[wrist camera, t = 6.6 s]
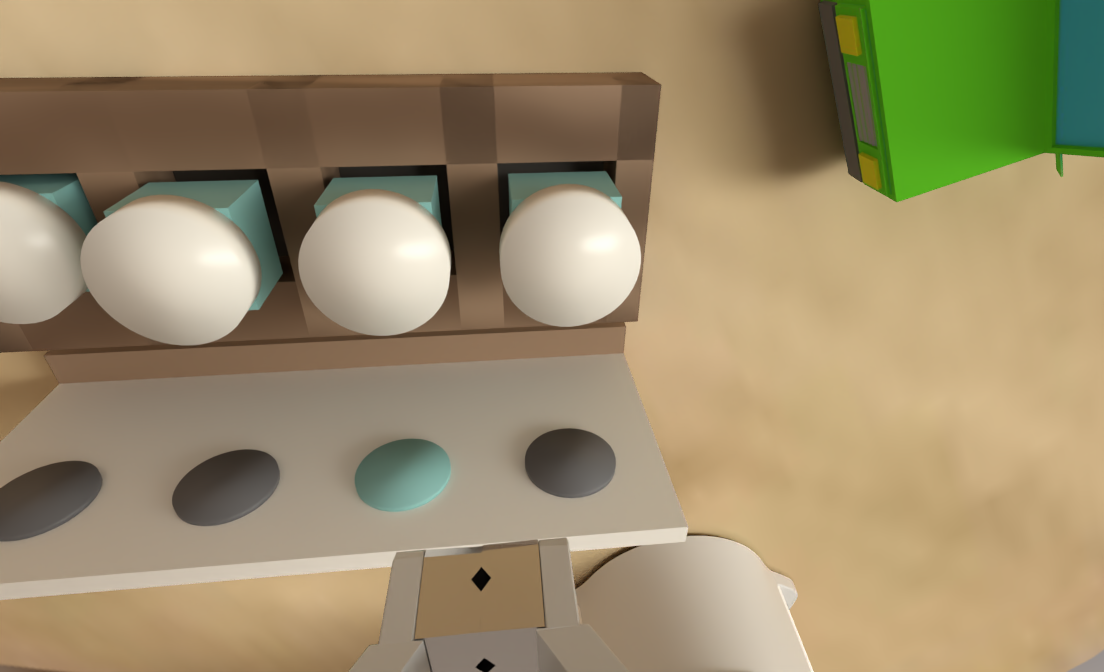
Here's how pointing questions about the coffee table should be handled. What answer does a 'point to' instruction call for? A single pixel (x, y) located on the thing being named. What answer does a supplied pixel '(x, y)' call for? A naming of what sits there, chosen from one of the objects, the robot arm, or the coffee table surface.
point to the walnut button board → (332, 167)
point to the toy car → (962, 86)
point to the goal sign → (325, 456)
